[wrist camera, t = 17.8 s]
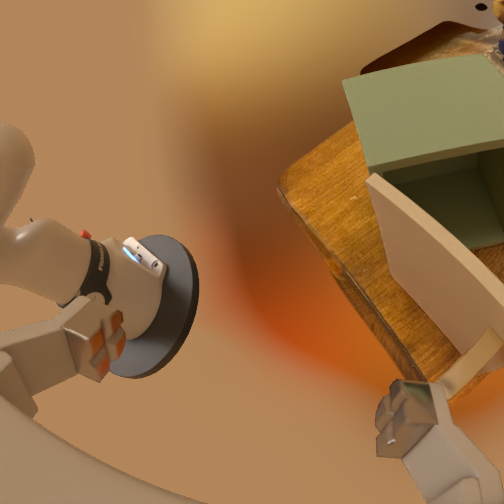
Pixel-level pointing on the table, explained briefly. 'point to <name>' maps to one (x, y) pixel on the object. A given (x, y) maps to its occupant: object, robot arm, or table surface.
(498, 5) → the figurine
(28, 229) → the robot arm
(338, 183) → the table surface
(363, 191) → the table surface
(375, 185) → the cupboard door
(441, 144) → the cupboard
